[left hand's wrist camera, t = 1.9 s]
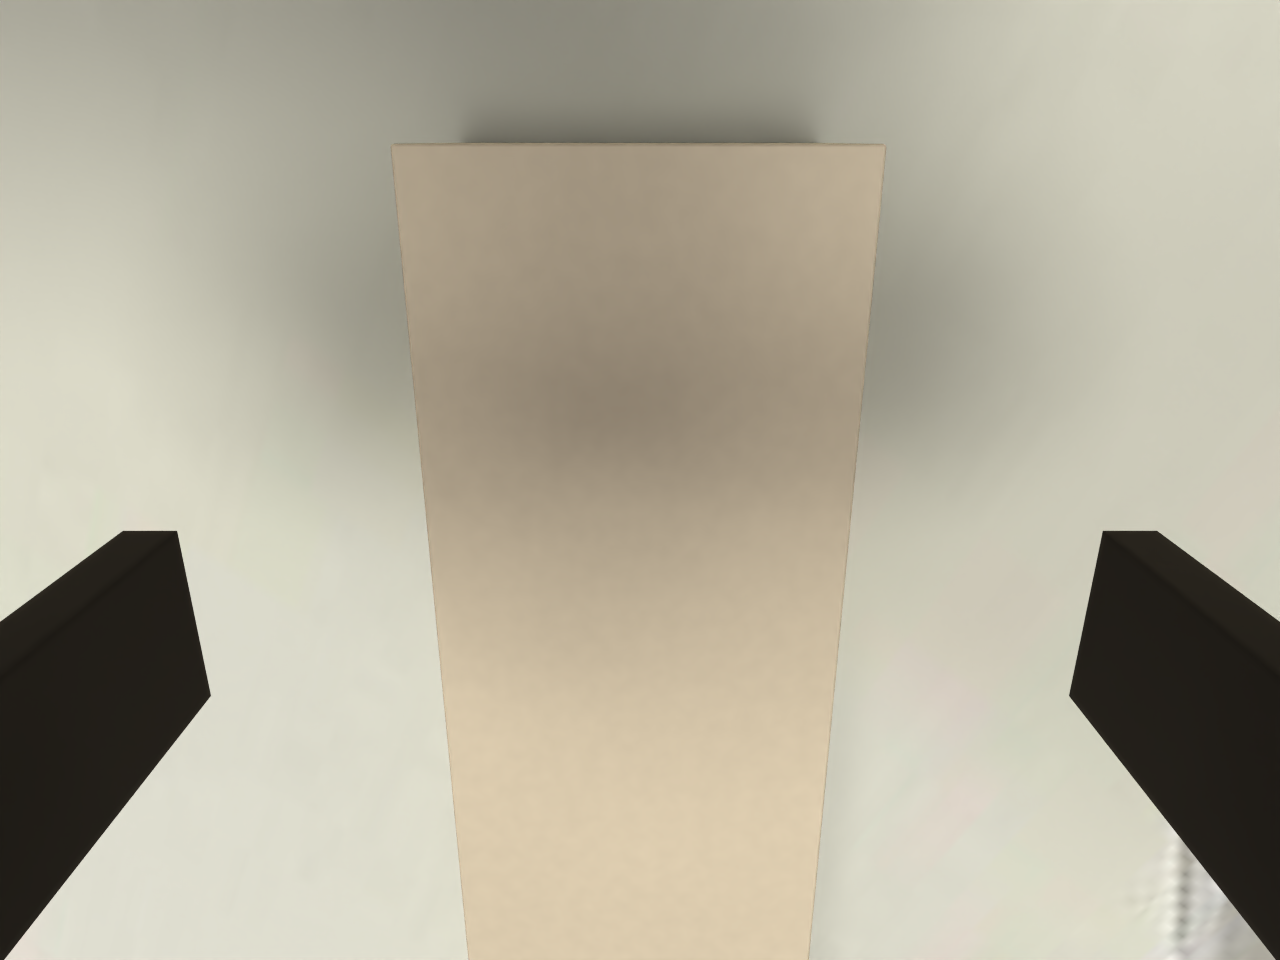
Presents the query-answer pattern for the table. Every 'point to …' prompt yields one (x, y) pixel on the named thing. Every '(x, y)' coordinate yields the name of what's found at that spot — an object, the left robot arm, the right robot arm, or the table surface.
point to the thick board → (638, 526)
